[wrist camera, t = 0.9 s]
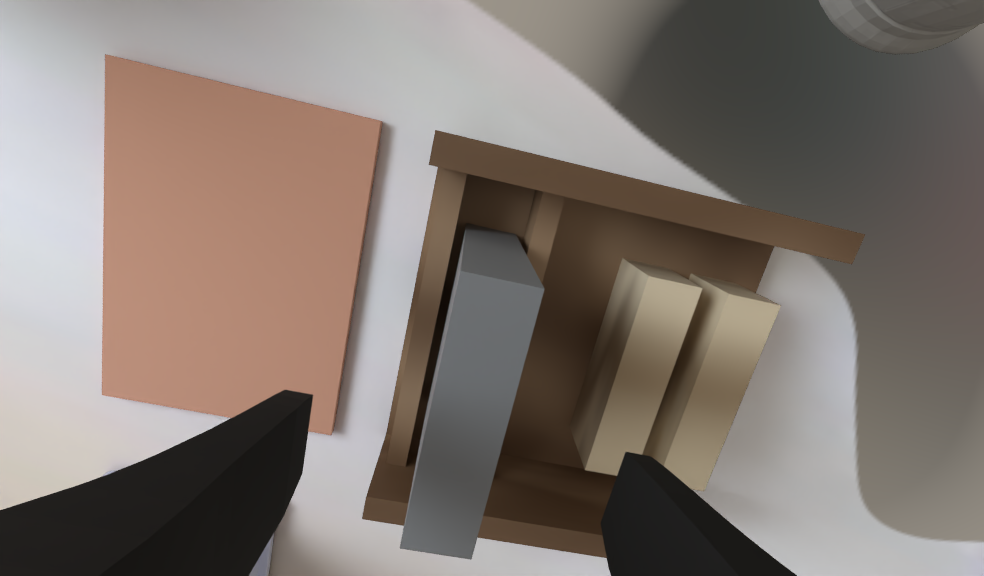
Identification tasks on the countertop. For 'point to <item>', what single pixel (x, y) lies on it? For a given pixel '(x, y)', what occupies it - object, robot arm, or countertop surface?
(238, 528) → the robot arm
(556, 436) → the walnut rack
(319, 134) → the terracotta mat
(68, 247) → the countertop surface
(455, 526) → the gray block
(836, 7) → the glass holder
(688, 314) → the birch offcut
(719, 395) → the birch offcut
